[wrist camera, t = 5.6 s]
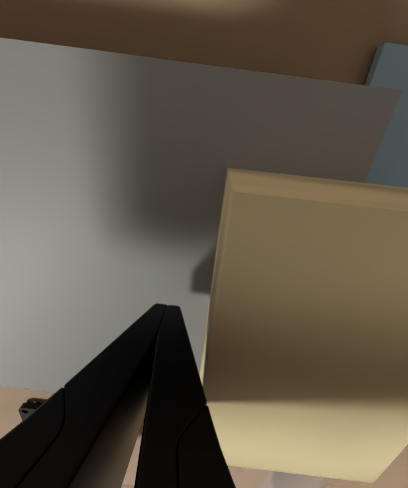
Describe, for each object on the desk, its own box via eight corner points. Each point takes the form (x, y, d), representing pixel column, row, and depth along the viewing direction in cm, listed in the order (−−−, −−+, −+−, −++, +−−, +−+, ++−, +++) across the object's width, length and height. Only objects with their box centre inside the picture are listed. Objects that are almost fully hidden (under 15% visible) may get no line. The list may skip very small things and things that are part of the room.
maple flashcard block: (332, 392, 10) (372, 482, 8) (199, 376, 10) (192, 461, 8) (440, 191, 7) (598, 232, 4) (227, 167, 7) (233, 191, 4)
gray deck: (255, 352, 15) (266, 420, 12) (12, 320, 15) (-51, 378, 12) (330, 106, 9) (402, 89, 6) (-72, 54, 9) (-258, 4, 6)
